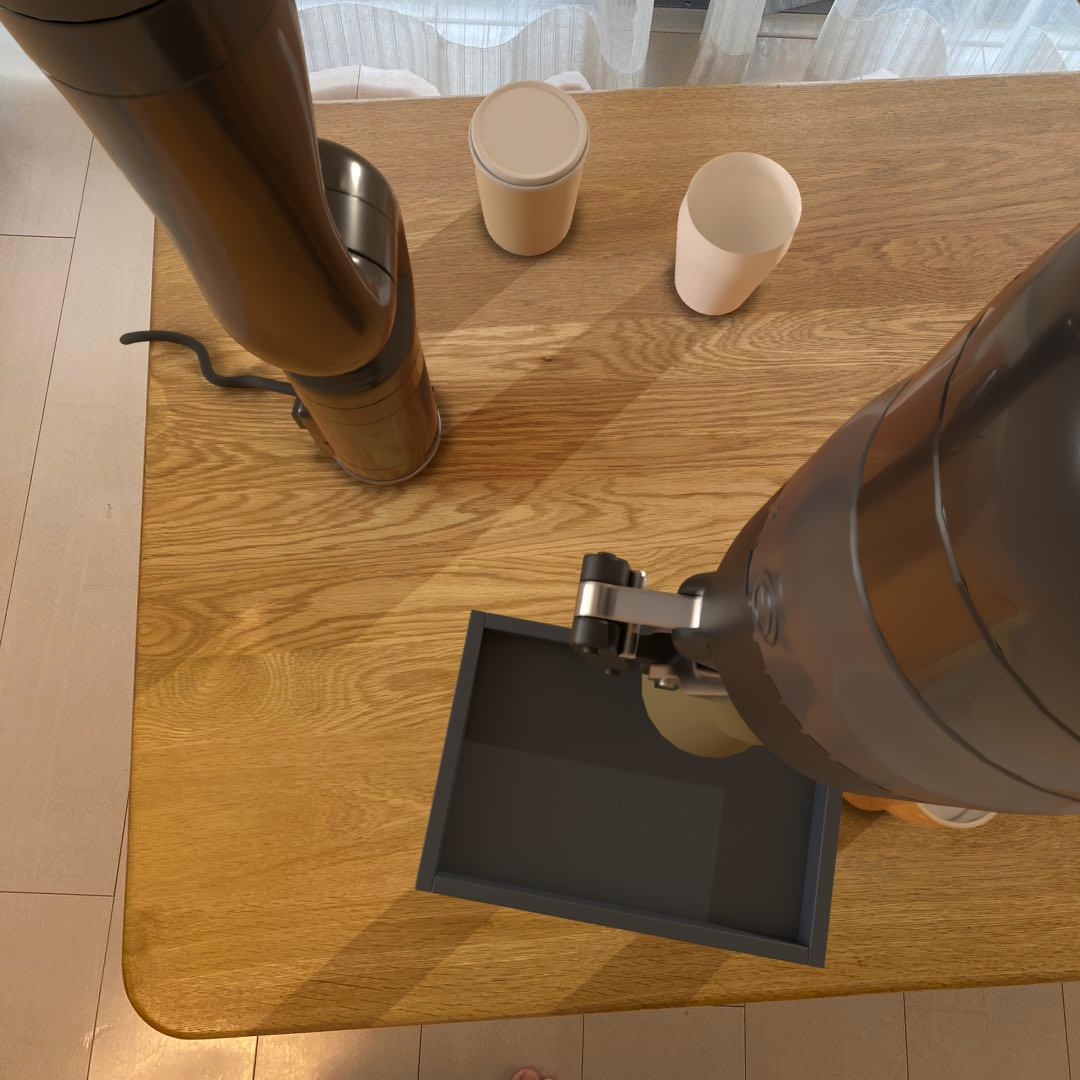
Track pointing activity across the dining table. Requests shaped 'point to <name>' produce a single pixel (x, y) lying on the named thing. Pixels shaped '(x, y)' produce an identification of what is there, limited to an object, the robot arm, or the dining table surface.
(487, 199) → the coffee cup
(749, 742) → the cork
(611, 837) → the tray
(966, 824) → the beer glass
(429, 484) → the dining table surface
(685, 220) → the cup
